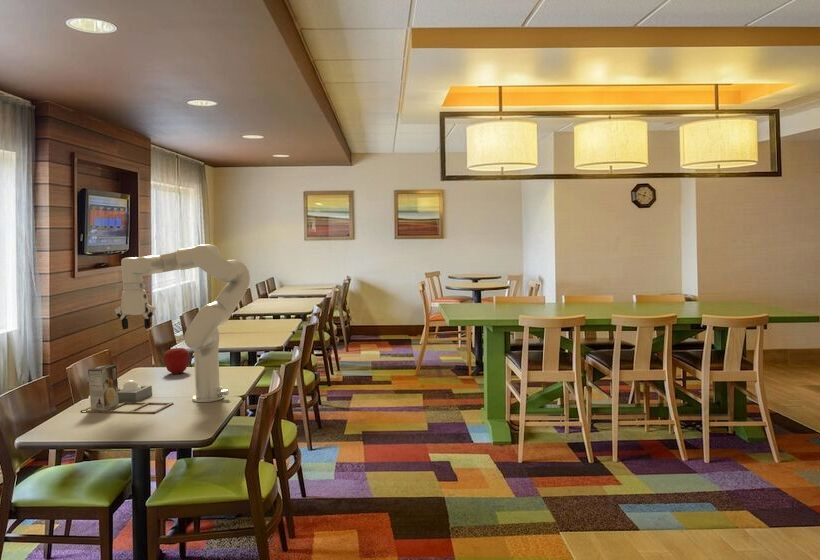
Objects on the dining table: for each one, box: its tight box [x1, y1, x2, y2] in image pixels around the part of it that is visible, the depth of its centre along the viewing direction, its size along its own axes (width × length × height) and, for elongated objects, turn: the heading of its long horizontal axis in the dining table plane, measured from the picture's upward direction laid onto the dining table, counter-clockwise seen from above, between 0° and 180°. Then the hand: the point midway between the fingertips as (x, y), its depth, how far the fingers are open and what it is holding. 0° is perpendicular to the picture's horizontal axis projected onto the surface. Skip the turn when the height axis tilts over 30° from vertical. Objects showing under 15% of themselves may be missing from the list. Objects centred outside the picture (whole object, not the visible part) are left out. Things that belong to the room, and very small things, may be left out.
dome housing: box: [118, 385, 153, 402], centre depth 274 cm, size 12×12×4 cm
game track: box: [80, 401, 174, 415], centre depth 258 cm, size 31×14×1 cm, turn 81°
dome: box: [119, 379, 142, 392], centre depth 274 cm, size 8×8×6 cm
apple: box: [163, 347, 190, 375], centre depth 323 cm, size 12×12×13 cm
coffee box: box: [87, 364, 119, 410], centre depth 259 cm, size 9×6×16 cm
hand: (136, 328), depth 271 cm, fingers open, 9 cm apart
